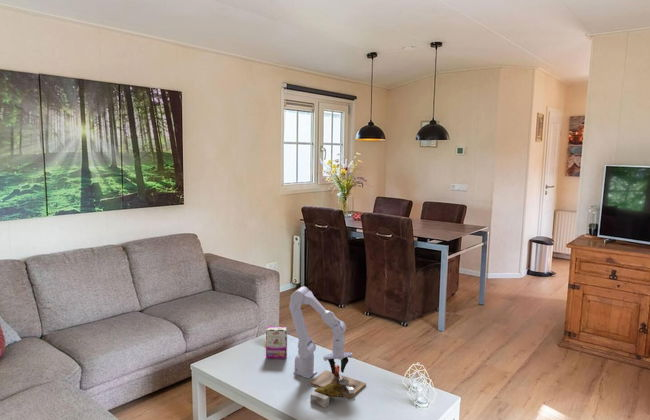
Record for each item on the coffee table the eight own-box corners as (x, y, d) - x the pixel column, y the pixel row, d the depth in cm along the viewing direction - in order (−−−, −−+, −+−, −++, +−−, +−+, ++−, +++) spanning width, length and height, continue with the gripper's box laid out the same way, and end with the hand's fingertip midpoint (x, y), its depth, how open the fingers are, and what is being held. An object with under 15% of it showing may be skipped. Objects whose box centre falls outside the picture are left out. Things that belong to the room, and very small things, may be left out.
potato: (321, 390, 217) (321, 374, 216) (345, 398, 211) (345, 382, 210) (311, 398, 210) (312, 382, 209) (336, 406, 203) (337, 389, 202)
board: (293, 396, 211) (293, 387, 211) (325, 372, 235) (325, 364, 234) (336, 412, 199) (336, 403, 199) (365, 385, 223) (366, 377, 222)
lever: (355, 392, 213) (356, 381, 212) (347, 394, 211) (347, 383, 210) (338, 374, 230) (339, 364, 229) (330, 376, 228) (331, 365, 228)
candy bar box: (287, 355, 253) (287, 326, 251) (286, 359, 248) (286, 330, 246) (267, 354, 254) (267, 326, 252) (265, 358, 249) (265, 329, 247)
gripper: (327, 351, 220) (326, 378, 222) (355, 348, 224) (354, 374, 226) (322, 345, 227) (321, 371, 228) (350, 342, 231) (349, 367, 233)
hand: (337, 372), depth 228 cm, fingers open, 4 cm apart
